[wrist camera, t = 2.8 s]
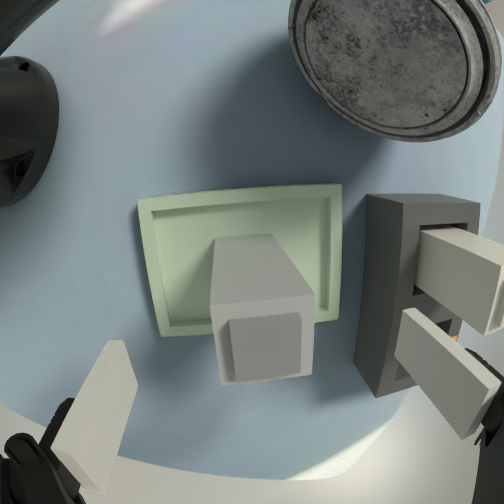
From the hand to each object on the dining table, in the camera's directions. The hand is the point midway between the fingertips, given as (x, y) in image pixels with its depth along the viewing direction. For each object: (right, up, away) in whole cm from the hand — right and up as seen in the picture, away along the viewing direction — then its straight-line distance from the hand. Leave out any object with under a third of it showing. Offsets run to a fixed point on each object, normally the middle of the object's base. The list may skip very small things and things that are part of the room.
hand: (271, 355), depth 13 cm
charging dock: (+14, +1, +15) cm, 20 cm away
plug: (-1, +4, +12) cm, 13 cm away
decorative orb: (+8, +21, +9) cm, 24 cm away
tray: (-1, +4, +12) cm, 13 cm away
